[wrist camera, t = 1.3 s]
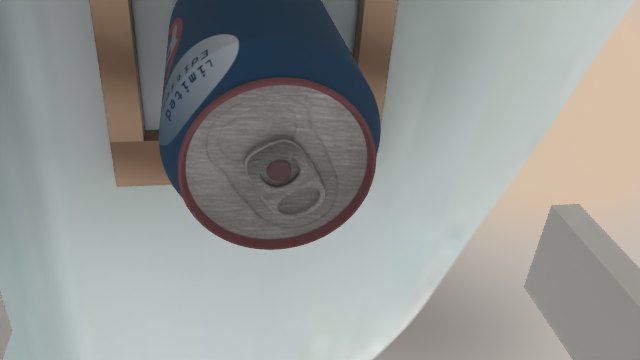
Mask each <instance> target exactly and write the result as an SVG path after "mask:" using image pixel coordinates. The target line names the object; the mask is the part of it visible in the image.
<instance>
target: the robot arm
mask: <svg viewBox="0 0 640 360" xmlns="http://www.w3.org/2000/svg"><path fill="white" fill-rule="evenodd" d="M524 287H525V289H526V291H527V292H528V294H529V295H530V296H531V298H532V300H533V301H534V303H535V304H536V305H537V307H538V308H539V310H540V311H541V313H542V314H543V316H544V317H545V319H546V320H547V322H548V323H549V325H550V326H551V328H552V329H553V330H554V332H555V334H556V335H557V337H558V338H559V340H560V341H561V343H562V344H563V346H564V347H565V349H566V350H567V352H568V353H569V354H570V356H571V357H572V359H573V360H640V268H638V266H637V265H636V264H635V263H634V262H633V261H632V260H631V259H630V258H629V257H628V256H627V254H626V253H625V252H624V251H623V250H622V249H621V248H620V247H619V246H618V245H617V244H616V243H615V242H614V241H613V240H612V239H611V237H610V236H609V235H607V233H606V232H605V231H604V230H603V229H602V228H601V227H600V226H599V225H598V224H597V223H596V222H595V220H594V219H593V218H592V217H591V216H590V215H589V214H588V213H587V212H586V211H585V210H584V209H583V208H582V207H581V206H580V205H579V204H570V205H552V206H551V209H550V212H549V214H548V218H547V220H546V223H545V226H544V229H543V232H542V235H541V238H540V241H539V244H538V247H537V250H536V253H535V256H534V259H533V262H532V265H531V268H530V271H529V274H528V276H527V280H526V283H525V285H524ZM11 332H12V328H11V325H10V322H9V318H8V315H7V312H6V309H5V305H4V302H3V299H2V296H1V292H0V360H2V359H3V356H4V353H5V350H6V347H7V344H8V341H9V338H10V335H11Z"/></svg>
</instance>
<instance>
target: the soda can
mask: <svg viewBox="0 0 640 360" xmlns="http://www.w3.org/2000/svg"><path fill="white" fill-rule="evenodd" d="M380 132H381V126H380V115H379V110H378V106H377V102H376V99H375V97H374V94H373V92H372V90H371V88H370V86H369V85H368V83H367V81H366V79H365V78H364V76H363V74H362V72H361V70H360V69H359V67H358V65H357V63H356V62H355V60H354V58H353V56H352V55H351V53H350V51H349V49H348V48H347V46H346V44H345V42H344V41H343V39H342V37H341V35H340V34H339V32H338V30H337V28H336V27H335V25H334V23H333V21H332V20H331V18H330V16H329V14H328V13H327V11H326V9H325V7H324V6H323V4H322V2H321V0H178V1H177V3H176V5H175V8H174V10H173V13H172V17H171V21H170V26H169V36H168V46H167V57H166V67H165V77H164V87H163V97H162V108H161V118H160V128H159V150H160V156H161V160H162V164H163V167H164V169H165V172H166V174H167V176H168V178H169V180H170V182H171V183H172V185H173V186H174V188H175V189H176V190H177V192H178V193H179V194H180V195H181V196H182V198H183V199H184V201H185V203H186V205H187V207H188V209H189V210H190V212H191V213H192V214H193V216H194V217H195V218H196V219H197V220H198V221H199V222H200V223H201V224H202V225H203V226H204V227H205V228H207V229H208V230H209V231H211V232H212V233H213V234H215V235H217V236H218V237H220V238H222V239H224V240H226V241H229V242H231V243H234V244H237V245H240V246H244V247H249V248H255V249H266V250H274V249H286V248H292V247H297V246H301V245H304V244H307V243H310V242H313V241H315V240H318V239H320V238H322V237H324V236H326V235H328V234H329V233H331V232H333V231H334V230H336V229H337V228H338V227H340V226H341V225H342V224H344V223H345V222H346V221H347V220H348V219H349V218H350V217H351V216H352V215H353V214H354V213H355V212H356V210H357V209H358V208H359V207H360V205H361V204H362V202H363V201H364V199H365V197H366V196H367V194H368V192H369V189H370V187H371V184H372V181H373V178H374V173H375V167H376V155H377V152H378V147H379V142H380Z"/></svg>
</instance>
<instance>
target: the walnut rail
mask: <svg viewBox="0 0 640 360" xmlns="http://www.w3.org/2000/svg"><path fill="white" fill-rule="evenodd" d="M89 1H90V8H91V15H92V22H93V29H94V35H95V42H96V49H97V56H98V63H99V70H100V76H101V83H102V90H103V97H104V104H105V110H106V117H107V124H108V131H109V138H110V144H111V151H112V158H113V165H114V172H115V179H116V185H117V187H120V186H144V185H169V184H172V183H171V182H170V180H169V178H168V176H167V174H166V172H165V169H164V167H163V164H162V160H161V156H160V150H159V131H145V126H144V117H143V108H142V98H141V89H140V80H139V71H138V61H137V52H136V43H135V34H134V25H133V15H132V6H131V0H89ZM397 5H398V0H359V8H358V18H357V28H356V37H355V47H354V57H353V58H354V60H355V62H356V63H357V65H358V67H359V69H360V70H361V72H362V74H363V76H364V78H365V79H366V81H367V83H368V85H369V86H370V88H371V90H372V92H373V94H374V97H375V99H376V102H377V106H378V110H379V115H380V126H381V120H382V112H383V105H384V98H385V91H386V84H387V77H388V69H389V62H390V55H391V48H392V41H393V33H394V26H395V19H396V12H397ZM376 156H377V155H376Z"/></svg>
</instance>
